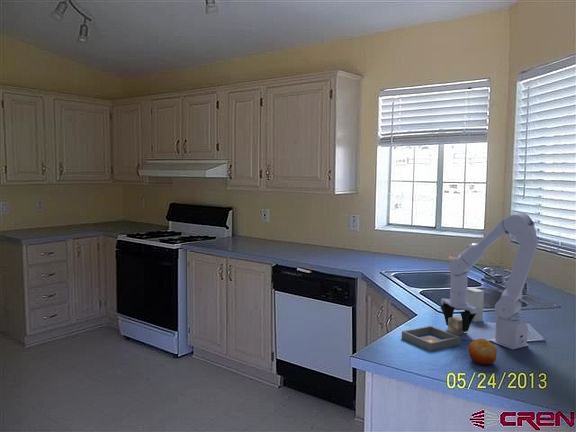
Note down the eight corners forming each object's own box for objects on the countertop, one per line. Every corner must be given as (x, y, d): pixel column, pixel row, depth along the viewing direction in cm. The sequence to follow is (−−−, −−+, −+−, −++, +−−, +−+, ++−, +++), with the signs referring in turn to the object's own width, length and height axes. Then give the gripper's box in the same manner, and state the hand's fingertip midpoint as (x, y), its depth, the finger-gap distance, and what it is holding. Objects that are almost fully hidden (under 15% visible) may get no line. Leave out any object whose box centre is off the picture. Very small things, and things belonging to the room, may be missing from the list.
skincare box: (463, 317, 193) (465, 288, 192) (472, 316, 194) (473, 287, 193) (474, 322, 187) (475, 291, 186) (483, 321, 188) (484, 290, 187)
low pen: (460, 344, 162) (460, 337, 162) (430, 351, 156) (430, 343, 155) (430, 332, 174) (430, 325, 174) (401, 338, 167) (401, 331, 167)
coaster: (445, 342, 163) (445, 341, 163) (430, 346, 160) (430, 345, 160) (430, 336, 169) (430, 335, 169) (415, 339, 166) (415, 338, 166)
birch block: (466, 333, 174) (466, 319, 174) (457, 334, 172) (457, 321, 172) (456, 329, 178) (457, 316, 178) (447, 331, 176) (448, 317, 175)
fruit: (486, 350, 152) (493, 334, 148) (495, 372, 146) (503, 355, 141) (461, 351, 152) (467, 334, 147) (469, 372, 146) (475, 355, 141)
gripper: (483, 294, 169) (481, 332, 170) (451, 285, 182) (449, 321, 183) (468, 296, 166) (467, 335, 167) (437, 287, 179) (435, 323, 180)
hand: (457, 328), depth 175 cm, fingers open, 7 cm apart
